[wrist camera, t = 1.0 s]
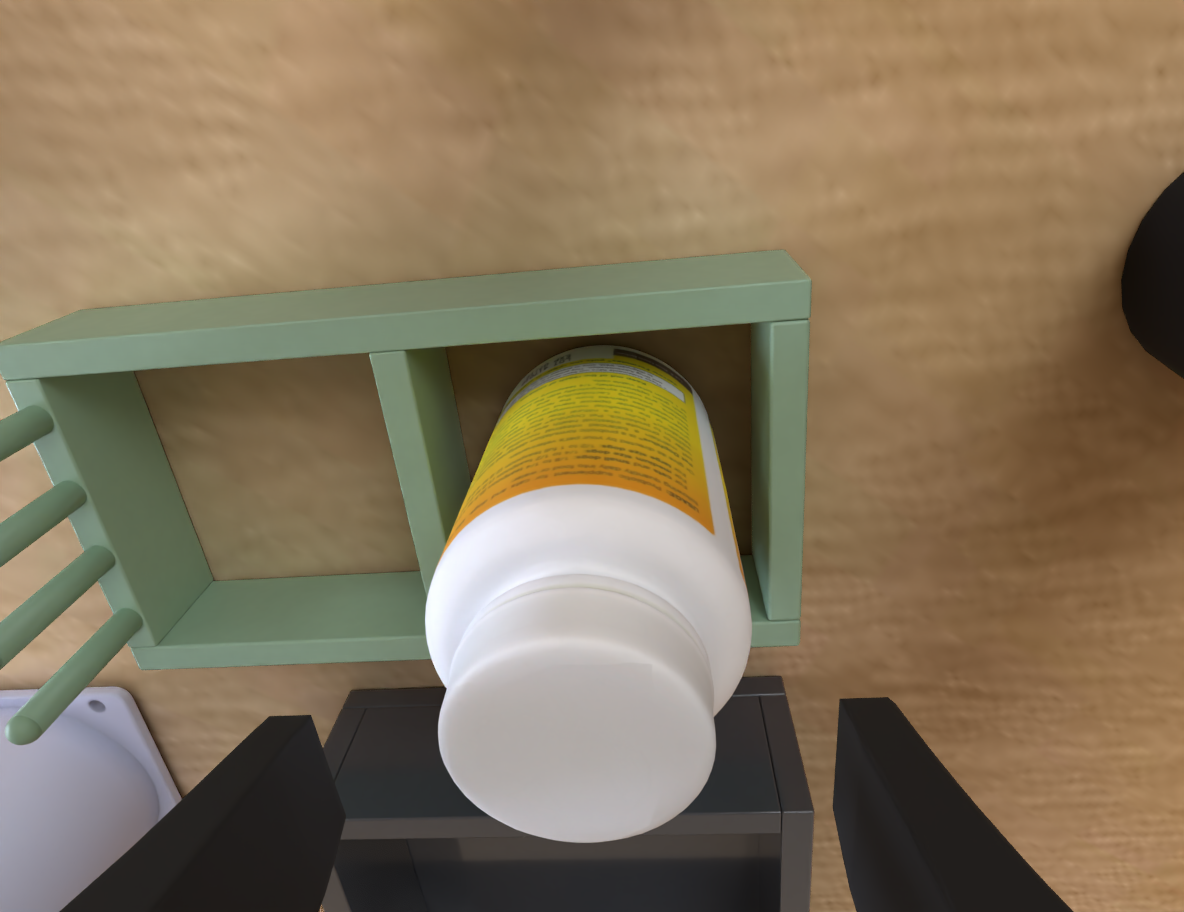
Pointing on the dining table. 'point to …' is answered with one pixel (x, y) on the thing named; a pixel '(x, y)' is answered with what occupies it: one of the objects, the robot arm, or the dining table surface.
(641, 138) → the dining table surface
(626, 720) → the supplement bottle
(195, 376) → the dining table surface
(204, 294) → the dining table surface
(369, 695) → the dark grey storage bin
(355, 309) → the dish rack
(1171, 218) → the cup
